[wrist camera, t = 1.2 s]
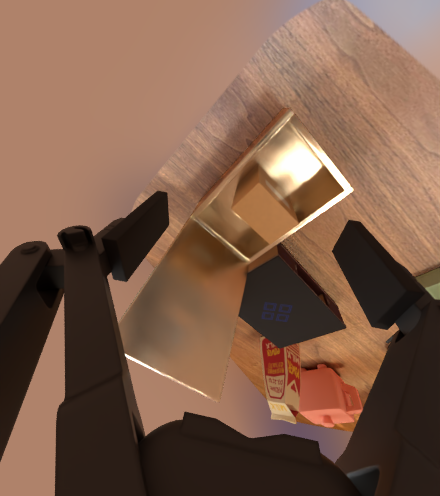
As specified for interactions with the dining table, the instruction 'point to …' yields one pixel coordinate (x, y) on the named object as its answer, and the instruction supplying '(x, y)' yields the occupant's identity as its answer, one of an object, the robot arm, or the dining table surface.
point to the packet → (264, 205)
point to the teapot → (327, 397)
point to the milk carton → (281, 379)
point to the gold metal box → (284, 174)
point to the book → (286, 301)
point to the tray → (431, 282)
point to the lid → (188, 312)
